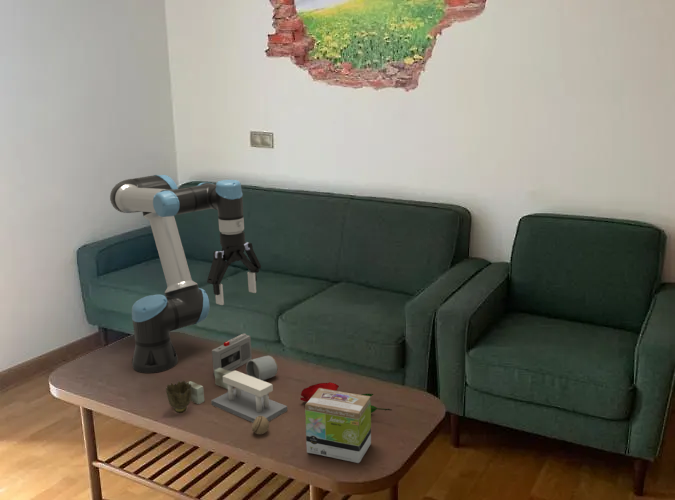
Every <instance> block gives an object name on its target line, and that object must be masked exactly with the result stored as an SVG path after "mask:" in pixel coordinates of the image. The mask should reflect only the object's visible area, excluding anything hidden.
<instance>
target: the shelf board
mask: <svg viewBox="0 0 675 500" xmlns="http://www.w3.org/2000/svg"><path fill="white" fill-rule="evenodd" d="M223 382H224V383H226V384H229V385H231V386H234V387H233V388H235V387H236V388H239V389H241V390H244V391H246V392H249V393H251V394H254V395H256V396H259V397H262V396H264V395H266V394H267V393H269V394H270V393H271V392H273V391H274V389H273V388H274V385H273V384H272V383H270V382H267V381H266V380H264V381H262V380H260V379H257V378H254V377H252V376H249V375H247V373H243V372H241V371H238V370H236V369H234V370H232V371H230V373H228V374H226V375H224V376H223Z"/></svg>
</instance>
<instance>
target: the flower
mask: <svg viewBox="0 0 675 500" xmlns="http://www.w3.org/2000/svg"><path fill="white" fill-rule="evenodd" d="M339 387H340V385H338V384H336V383H333V382H329V381H328V382H320V383H319V382H318V383H315V384H312V385H310V386H308V387H306V388H303V389H302V391H301V392H300V396H301V397H300V401H302V402H305V403H307V402H308V401H309V400H310V398H311V397H312V396H313V395H314V394H315V392H316V391H317V390H318V389H319V388H322V389H329V390H334V391H338V388H339ZM360 395H364V396H371V397H373V395H374V393H361V394H360ZM377 410H381V411H383V410H384V411H393V409H391V408H382V407H381V408H380V407H379V408H378V407H376V406H374V405H372V404H371V414H373V413H374V412H376V411H377Z"/></svg>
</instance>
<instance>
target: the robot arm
mask: <svg viewBox="0 0 675 500" xmlns="http://www.w3.org/2000/svg"><path fill="white" fill-rule="evenodd" d="M243 194H244V193H243V191H242V184H241V182H240V180H238V179H221V180H218V181H216V183H215V184H214V183H212V182H200V183H198V184H197V185H195V186H188V187H183V188H179V187H178V185H177V183H176V182H175V180H174V179H173V178H172V177H171V176H170V175H167V174H153V175H148V176H142V177H136V178H128V179H125V180H122V181H120V182H119V183H117V184H115V185H114V187H113V188H111V192H110V195H109V201H110V203H111V206H112V207H113V208H114V209H115V210H117V212H119V213H123V214H135V213H140V212H141V213H142V215H143V218H144V219H146V220H147V221H149V223H150V224H149V225H150V228H151V231H152V235H153V239H154V241H155V246H156V249H157V252H158V256H159V261H160V264H161V267H162V271H163V275H164V278H165V282H166V287H167V288H166V290H164V294H160V293H159V294H150V295H146V296H143V297H141V298H139V299H138V300H136V301H135V302H133V305H132V307H131V319H132V326H133V333H134V341H135V346H134V351H133V357H132V359H131V361H132V362H131V363H132V368H133V370H134V371H136V372H139V373H145V374H154V373H160V372H165V371H168V370H170V369H171V368H174V367H175V366H176V365H177V364H178V362H179V357H178V353H177V351H176V349H175V347H174V345H173V342H172V339H171V332H172V331H176V330H179V329H182V328H186V327H189V326H193V325H194V326H195V325H197V324H198V323H201V322H204V321H205V320H206V319H207V317H208V316H209V313H210V299H209V296H208V294H207V293H208V292H207V293H206V290H205V289H203V288H200V287H199V285H198V283H197V282H195V281H194V280H193V279H192V276H191V272H190V269H189V266H188V262H187V258H186V254H185V250H184V247H183V243H182V240H181V236H180V233H179V232H180V231H179V229H178V225H177V221H176V219H175V216H177V215H183V214H188V213H193V212H199V211H205V210H210V209H211V210H212V209H213V210H216V211H217V216H218V217H217V218H218V219H217V220H218V230H219V243H220V245H221V250H219V251H217V250H214V251H213V255H212V256H213V257H212V258H213V259H212V263H211V266H210V269H209V274H208V277H207V280H206V283H207V284H209V285H210V284H211V285H212V288H213V294H214V295H215V304H216V305H219V306H223V305H225V301H224V300H225V298H224V289H223V286H224V285H223V284H222V283H221V282H222V280H223V279H224V276H225V274H226V272H227V271H228V268H229V266H231V264H233V263H235V262H239V261H240V262H241V263H242V264H243V266H245V267H246V268H247V269H248V271H247V285H248V292H249V293H253V294H256V293H257V283H256V282H257V280H258V279H257V278H258V277H257V273H259V271H260V269H262V265H261V263H260V261H259V259H258V257H257V255H256V253H255V251H254V247H253V243H251V242H248V241H246V234H245V232H244V230H245V221H244V219H245V218H244V202H243V196H244V195H243Z"/></svg>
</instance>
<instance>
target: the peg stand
mask: <svg viewBox="0 0 675 500" xmlns="http://www.w3.org/2000/svg"><path fill="white" fill-rule="evenodd" d="M227 385H228V389H227V392H225V393H224V394H221V395H219V396H217V397H215V398H212V399H211V400H210V401H211V403H210V404H211V405H212V406H213V407H216V408H218V409H220V410H222V411H225V412H227V413H230V414H232V415H234V416H237V417H238V418H241V419H243V420H246V421H248V422H250V423H252V424H253V422H254V420H255V419H256V417H258V416H264V417H265V418H267V420H268V422H270V421H273V420H274V419H276V418H277V417H280V415H283V414H285V413H286V412H288V405H285V404H283V403H280V402H277V401H275V400H272V399H270V396H269V394H270V392H269V393H267V394H266V395H264V396H262V397H259V396H256V395H254V394H251V393H249V392H246V391H244V390H241V389H239V388H236V387H233V386H231V385H229V384H227Z"/></svg>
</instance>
